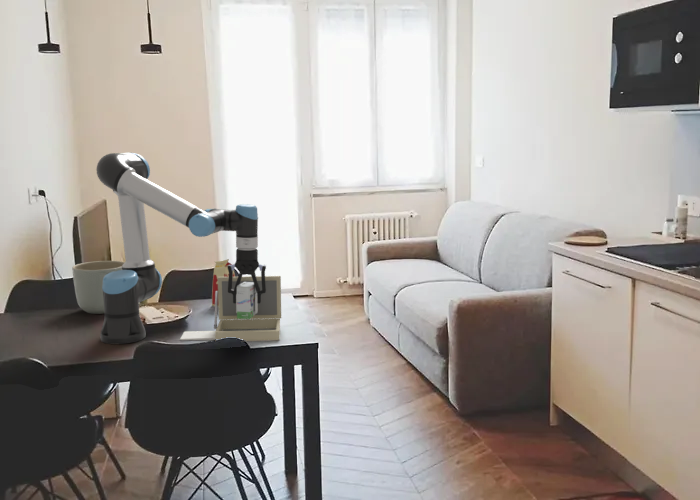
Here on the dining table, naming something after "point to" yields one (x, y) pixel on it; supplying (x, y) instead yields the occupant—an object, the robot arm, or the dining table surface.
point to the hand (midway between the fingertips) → (247, 311)
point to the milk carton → (219, 271)
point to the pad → (198, 335)
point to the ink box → (246, 300)
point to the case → (261, 320)
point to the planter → (92, 283)
